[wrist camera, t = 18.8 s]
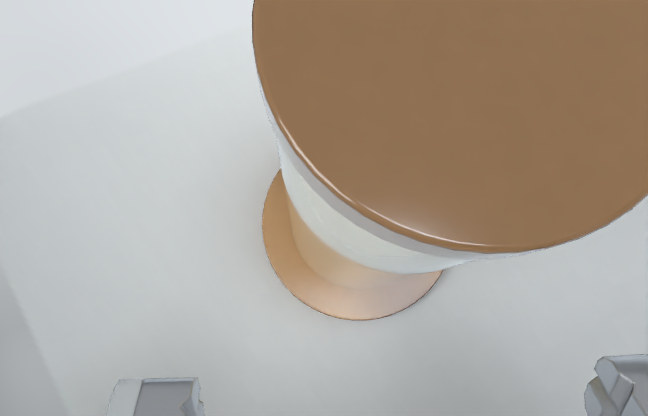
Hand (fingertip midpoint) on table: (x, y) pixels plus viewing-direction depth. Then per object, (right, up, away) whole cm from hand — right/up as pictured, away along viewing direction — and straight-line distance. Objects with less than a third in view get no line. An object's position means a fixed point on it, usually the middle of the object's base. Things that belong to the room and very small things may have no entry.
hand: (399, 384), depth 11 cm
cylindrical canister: (0, +3, +12) cm, 12 cm away
